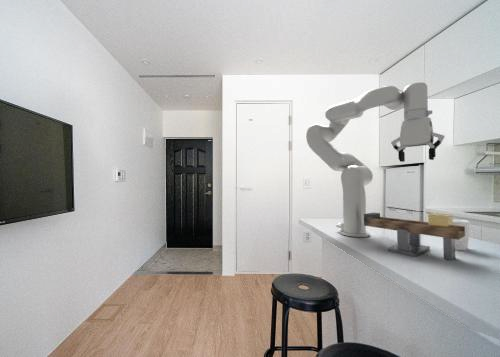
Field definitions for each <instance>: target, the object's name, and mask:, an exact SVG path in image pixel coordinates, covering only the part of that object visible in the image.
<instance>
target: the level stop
mask: <svg viewBox="0 0 500 357" xmlns="http://www.w3.org/2000/svg"><path fill="white" fill-rule="evenodd" d="M442 244H443V246H442V247H443V248H442V250H443V259H444V260H448V261H453V260H454V259H456V250H455V239H450V238H443V237H442Z"/></svg>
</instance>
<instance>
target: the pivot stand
mask: <svg viewBox="0 0 500 357" xmlns="http://www.w3.org/2000/svg"><path fill="white" fill-rule="evenodd" d="M396 234H397V235H396V236H397V238H396V239H397V240H396V242H397V244H396V245H394V246H391V247H388V248H387V249H388V252H390V253H391V252H392V253H395V254H401V255H406V256H410V257H413V258H417V256H420V255H422V254H424V253H426V252H427V251H429V250H430V249H431V247H430V246H429V245H425V244H424V245H423V244H421V234H417V233H410V232H409V230H408V229H401V228H398V229H397V230H396Z"/></svg>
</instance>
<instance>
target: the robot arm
mask: <svg viewBox="0 0 500 357" xmlns="http://www.w3.org/2000/svg"><path fill="white" fill-rule="evenodd" d="M428 98H429V97H428V85H427V84H426V83H425V82H421V81H420V82H413V83H410V84H408V85H406V86H405V87H404V89H403V90H401V89H399V88H398V87H396V86H394V85H385V86H380V87H378V88H377V87H376V88H374V89H370V90H368V91H366V92H364V93H363V94H361V95H360V96H358V97H357V98H353V99H351V100H347V101H343V102H339V103H337V104H333V105H330V106H329V107H328V108H326V110H325V112H324V113H325V114H324V116H325V119H326V120H327V121H328V122H329V123H328V124H326V125H324V124H322V123H314V124H311V125H310V126H309V127H308V128H307V130H306V139H305V140H306V143H307V145H308V146H309V148H310V150H311V151H312V152H313V153H314V154H315V155H317V157H319V159H321V161H322V162H324V163H325V164H326V165H327V166H328V167H329V168H330V169H331V170H333V171H335V172H341V174H340V181H341V186H342V213H343V214H342V215H343V216H342V218H343V220H342V223H340V222H338V223H336V225H335V226H336V228H340V230H339V233H340V234H341V235H343V236H347V237H353V238H354V237H355V238H365V237H367V238H368V237H370V236H371V233H370V231H368V230H367V226H364V214H367V205H366V204H367V203H366V202H367V201H366V199H367V198H366V190H365V189H366V188H365V187H366V186H368V185H369V184H370V183H371V182H372V181H373V175H374V174H373V172H372V170H371V169H370V168H369V167H368V166H366V165H365V164H364V163H363V162H362V161H360V160H359V159H358V158H357V157H355V156H354V155H352V154H351V153H348V152H343V151H340V150H339V149H337V148H336V147H335V146H334V145H333V144H331V143H330V142H332V141H334V140H335V139H336V138H337V136H338V135H339V134H340V133H341V132H342V131H343V129H345V127H346V126H347V125H348V124H349V122H350V120H354V119H358V118H361V117H362V116H363V115H364V112H365V111H368V110H371V109H373V108H377V107H383V106H384V107H386V108H387V109H388V110H391V111H396V110H400V109H403V121H402V122H401V124H400V125H401V126H400V133H399V137H397V138H395V139H394V140H392V141H391V142H390V143H391V145H392V147H393V149H394V150H396V151H397V152H398V154H397V155H398V161H399V162H401V163H402V162H405V161H406V160H405V158H406V157H405V150H406V148H412V147H421V146H428V147H429V148H428V160H431V161H434V160H435V158H436V156H437V155H436V149H437V147H439V146H440V145H441V144H442V142H443V141H444V139H445V138H446V137H445V135H444V134H440V133H436V132H434V129H433V128H434V127H433V123H432V118H431V117H429V116H430V115H432V114H433V110H431V109H430V110H429V107H428ZM435 138H437V140H436V141H435V142H434V139H435ZM397 143H399V144H400V146H399V145H397Z"/></svg>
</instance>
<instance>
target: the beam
mask: <svg viewBox="0 0 500 357" xmlns="http://www.w3.org/2000/svg"><path fill="white" fill-rule="evenodd" d="M364 226H366V227H372V228H378V229H384V230H385V229H386V230H391V231H397V229H398V228H401V229H408V230H409V232H410V233H417V234H420V235H425V236H432V237H437V238H442V239H443V238H450V239H457V240H459V239H461V238H462V237H464V236H465V226H456V225H453V229H452V228H444V227H436V226H428V221H420V220H414V219H413V220H412V219H411V220H409V219H402V218H393V217H384V216H381V213H380V212H368V213H367V212H366V214H364Z"/></svg>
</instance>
